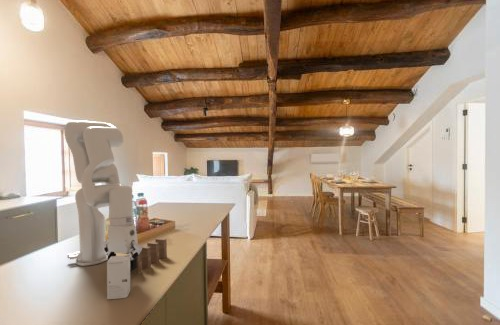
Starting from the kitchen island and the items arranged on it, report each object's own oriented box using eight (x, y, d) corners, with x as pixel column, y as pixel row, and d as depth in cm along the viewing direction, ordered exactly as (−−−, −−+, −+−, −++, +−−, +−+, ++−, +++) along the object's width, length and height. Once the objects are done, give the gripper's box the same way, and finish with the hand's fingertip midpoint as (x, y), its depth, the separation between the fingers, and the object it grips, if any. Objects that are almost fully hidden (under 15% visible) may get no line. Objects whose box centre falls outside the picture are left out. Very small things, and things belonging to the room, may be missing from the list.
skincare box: (106, 300, 80) (105, 261, 80) (111, 292, 84) (110, 256, 84) (128, 297, 81) (127, 259, 81) (131, 290, 86) (130, 254, 85)
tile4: (164, 258, 112) (164, 240, 111) (155, 257, 113) (155, 239, 113) (166, 257, 113) (166, 239, 113) (158, 255, 115) (157, 238, 114)
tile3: (156, 263, 107) (156, 244, 107) (147, 261, 109) (147, 242, 108) (159, 261, 108) (158, 242, 108) (150, 260, 110) (149, 241, 110)
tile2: (147, 268, 102) (147, 248, 102) (138, 266, 104) (138, 247, 103) (150, 266, 104) (150, 247, 103) (141, 265, 105) (141, 245, 105)
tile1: (138, 273, 98) (138, 253, 97) (129, 272, 99) (128, 251, 99) (141, 272, 99) (141, 251, 99) (132, 270, 101) (131, 250, 100)
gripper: (148, 220, 93) (149, 266, 94) (111, 216, 99) (112, 260, 100) (132, 225, 86) (133, 276, 87) (94, 221, 92) (95, 268, 93)
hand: (122, 267), depth 93 cm, fingers open, 9 cm apart
